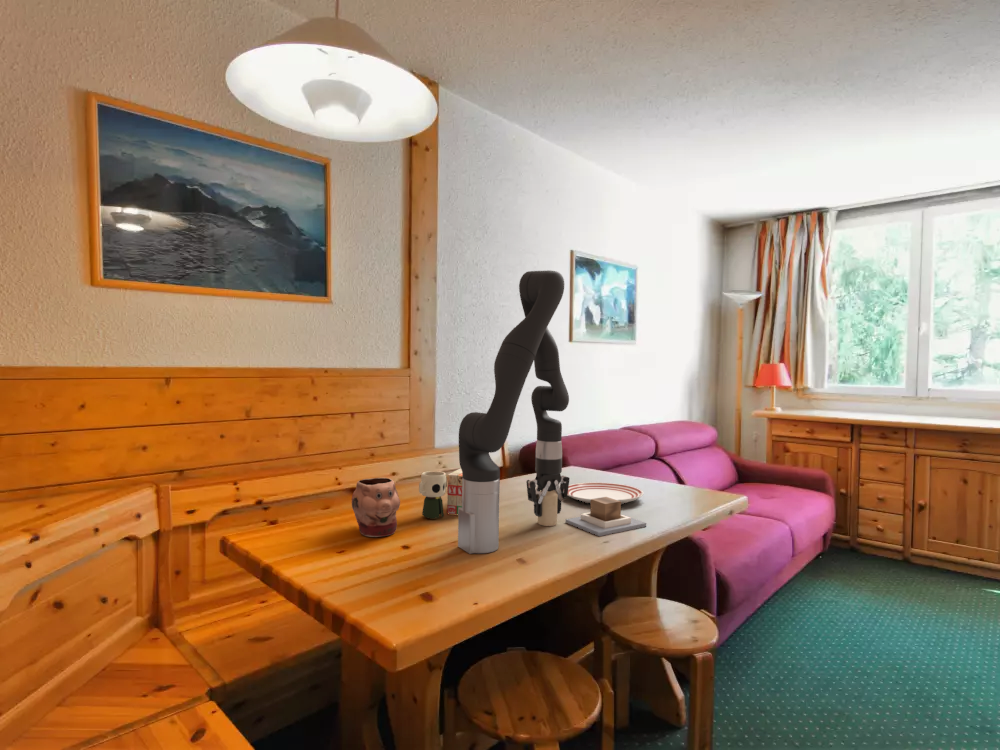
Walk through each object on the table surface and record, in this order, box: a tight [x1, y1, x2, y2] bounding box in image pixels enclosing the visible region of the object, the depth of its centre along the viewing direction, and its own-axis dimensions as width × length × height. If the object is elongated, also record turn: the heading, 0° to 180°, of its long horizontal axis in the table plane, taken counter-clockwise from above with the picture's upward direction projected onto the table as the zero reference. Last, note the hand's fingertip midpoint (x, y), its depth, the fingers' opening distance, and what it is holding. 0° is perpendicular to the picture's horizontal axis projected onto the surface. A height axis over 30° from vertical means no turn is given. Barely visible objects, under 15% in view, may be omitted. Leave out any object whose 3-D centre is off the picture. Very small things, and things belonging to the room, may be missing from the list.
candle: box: [537, 490, 558, 527], centre depth 155 cm, size 6×6×10 cm
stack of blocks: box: [446, 467, 462, 515], centre depth 172 cm, size 21×6×12 cm, turn 163°
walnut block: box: [589, 497, 622, 521], centre depth 155 cm, size 6×6×6 cm
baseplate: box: [564, 511, 647, 537], centre depth 155 cm, size 18×14×2 cm
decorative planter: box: [351, 477, 401, 538], centre depth 146 cm, size 20×12×14 cm, turn 36°
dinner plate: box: [563, 481, 644, 505], centre depth 186 cm, size 27×27×3 cm
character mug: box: [418, 470, 448, 520], centre depth 159 cm, size 11×7×13 cm, turn 140°
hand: (547, 514), depth 156 cm, fingers open, 6 cm apart
